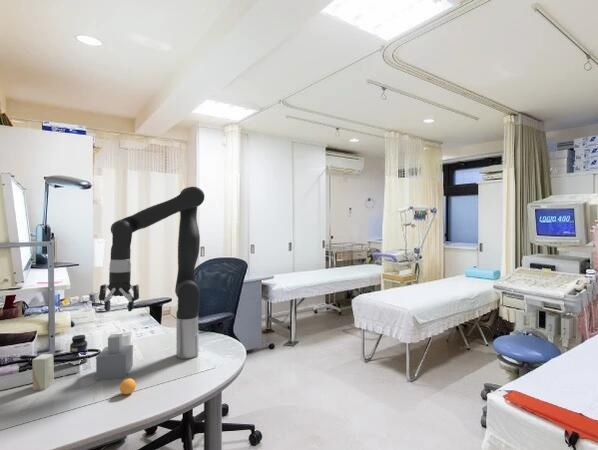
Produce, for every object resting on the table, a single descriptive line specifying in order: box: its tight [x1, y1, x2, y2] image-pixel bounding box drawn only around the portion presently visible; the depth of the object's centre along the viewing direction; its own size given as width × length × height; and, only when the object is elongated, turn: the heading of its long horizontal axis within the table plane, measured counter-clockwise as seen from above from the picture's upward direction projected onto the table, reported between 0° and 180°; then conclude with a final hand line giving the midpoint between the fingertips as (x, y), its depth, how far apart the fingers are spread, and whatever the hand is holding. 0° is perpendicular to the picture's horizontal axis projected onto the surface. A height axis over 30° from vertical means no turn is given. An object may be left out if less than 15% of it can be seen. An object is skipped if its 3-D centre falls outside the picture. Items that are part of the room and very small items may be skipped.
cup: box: [117, 330, 134, 346], centre depth 154 cm, size 7×10×8 cm
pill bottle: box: [69, 334, 88, 365], centre depth 141 cm, size 6×6×11 cm
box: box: [31, 353, 55, 391], centre depth 120 cm, size 5×4×11 cm
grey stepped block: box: [95, 333, 134, 381], centre depth 131 cm, size 10×10×15 cm
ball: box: [119, 378, 137, 395], centre depth 116 cm, size 5×5×5 cm
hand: (118, 310), depth 133 cm, fingers open, 8 cm apart
